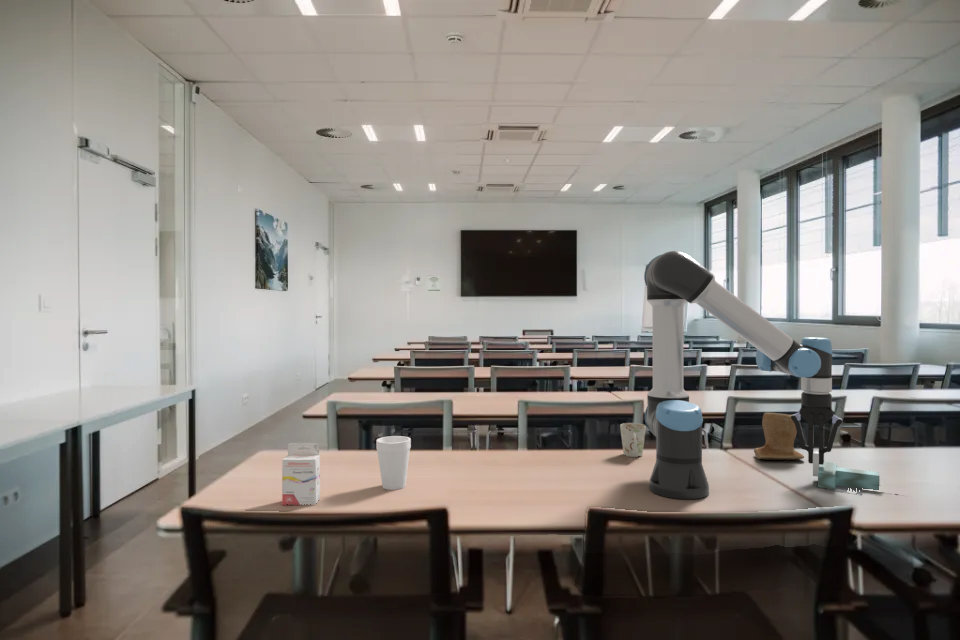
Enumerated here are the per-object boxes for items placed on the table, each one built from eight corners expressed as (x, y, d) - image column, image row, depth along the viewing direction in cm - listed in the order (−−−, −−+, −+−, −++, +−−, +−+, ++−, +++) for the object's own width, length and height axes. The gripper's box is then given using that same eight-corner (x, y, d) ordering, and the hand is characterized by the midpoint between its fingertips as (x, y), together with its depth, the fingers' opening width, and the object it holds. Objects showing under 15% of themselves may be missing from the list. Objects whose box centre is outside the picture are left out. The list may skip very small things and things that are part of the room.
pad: (831, 490, 159) (831, 490, 159) (833, 475, 173) (833, 475, 173) (909, 501, 150) (909, 501, 150) (904, 484, 164) (904, 484, 164)
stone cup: (790, 454, 199) (791, 409, 199) (809, 463, 187) (809, 415, 187) (744, 453, 200) (745, 409, 199) (760, 462, 188) (760, 415, 188)
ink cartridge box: (281, 506, 149) (280, 447, 148) (287, 499, 154) (286, 443, 153) (316, 505, 149) (315, 447, 149) (320, 499, 154) (320, 442, 154)
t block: (817, 487, 162) (818, 472, 162) (821, 475, 174) (821, 461, 174) (879, 495, 154) (879, 480, 154) (878, 482, 166) (878, 468, 166)
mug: (643, 452, 202) (643, 423, 202) (650, 461, 190) (650, 430, 190) (618, 451, 203) (618, 422, 203) (623, 461, 191) (623, 430, 190)
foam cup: (378, 492, 159) (378, 444, 159) (375, 483, 168) (374, 437, 168) (413, 489, 162) (413, 442, 161) (408, 480, 170) (408, 435, 170)
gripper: (843, 392, 168) (843, 475, 168) (791, 389, 174) (791, 469, 175) (843, 395, 161) (842, 482, 162) (789, 392, 168) (789, 475, 169)
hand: (816, 475), depth 168 cm, fingers closed
